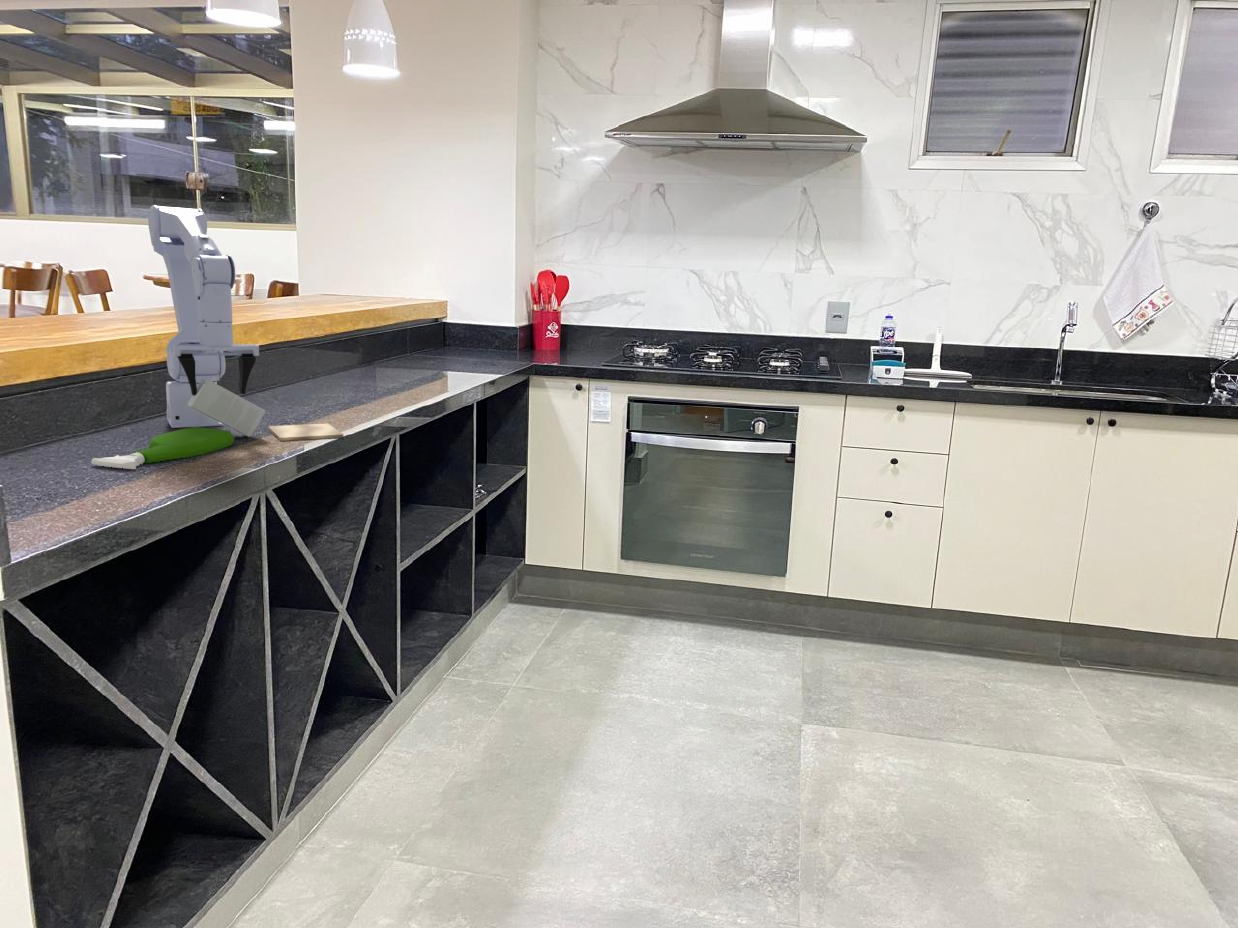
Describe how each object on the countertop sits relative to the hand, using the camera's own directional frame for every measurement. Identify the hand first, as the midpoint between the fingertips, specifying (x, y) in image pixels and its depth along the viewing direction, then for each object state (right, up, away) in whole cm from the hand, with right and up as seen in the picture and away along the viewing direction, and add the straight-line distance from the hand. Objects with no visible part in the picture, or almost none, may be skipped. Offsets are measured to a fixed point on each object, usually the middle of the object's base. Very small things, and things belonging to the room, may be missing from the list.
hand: (218, 394), depth 167 cm
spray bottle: (-3, -12, -13) cm, 18 cm away
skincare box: (+5, -6, +4) cm, 9 cm away
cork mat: (+13, -7, +10) cm, 18 cm away
